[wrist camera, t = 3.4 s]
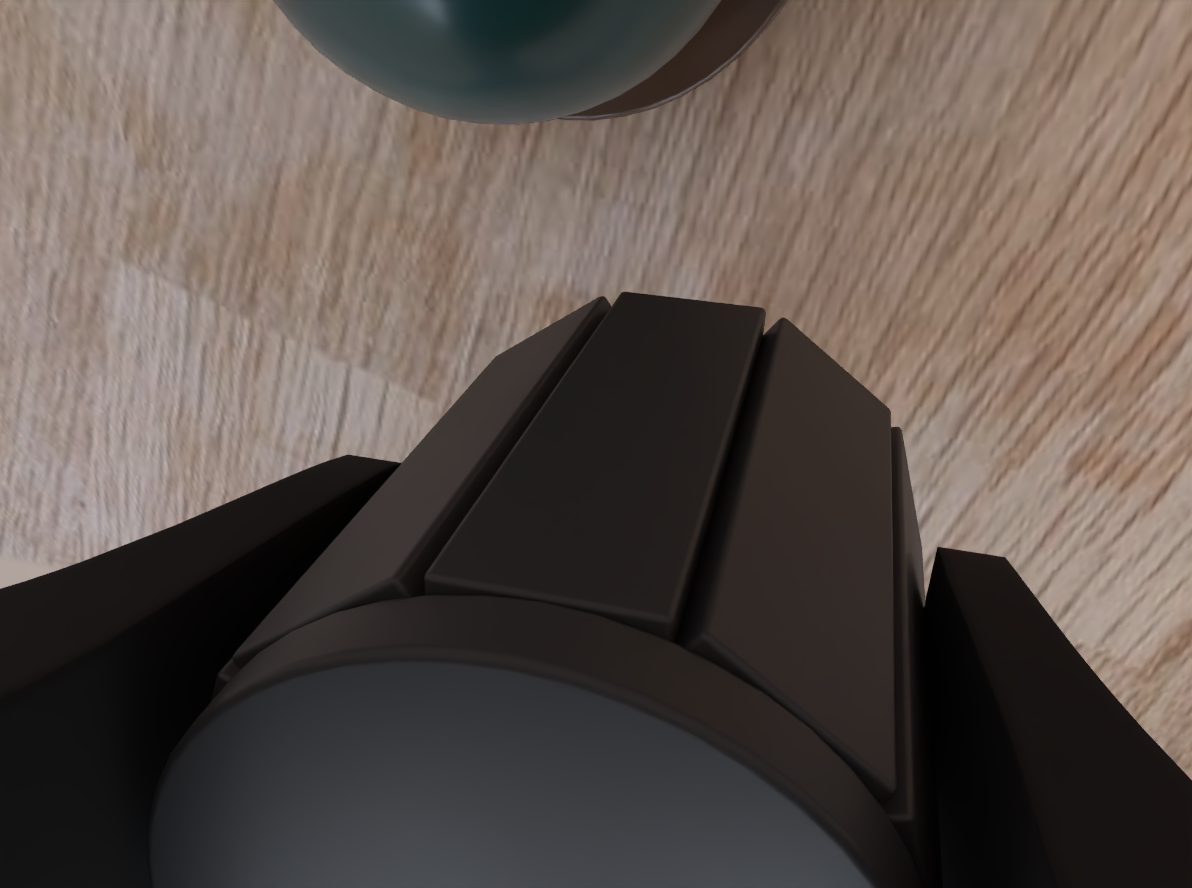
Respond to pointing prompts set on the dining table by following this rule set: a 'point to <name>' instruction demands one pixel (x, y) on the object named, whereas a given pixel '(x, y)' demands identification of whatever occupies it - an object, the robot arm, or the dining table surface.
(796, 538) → the black cap
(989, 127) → the dining table surface
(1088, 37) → the dining table surface
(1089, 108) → the dining table surface
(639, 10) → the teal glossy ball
